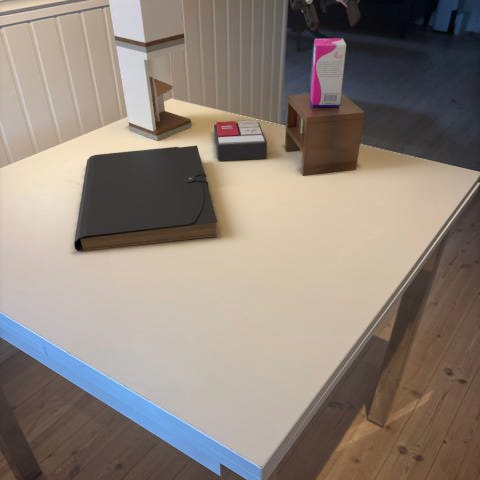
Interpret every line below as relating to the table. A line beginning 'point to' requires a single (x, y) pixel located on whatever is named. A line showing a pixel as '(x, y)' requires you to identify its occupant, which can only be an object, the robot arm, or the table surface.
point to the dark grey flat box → (240, 140)
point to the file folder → (144, 199)
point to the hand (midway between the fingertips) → (335, 25)
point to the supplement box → (327, 72)
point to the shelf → (324, 134)
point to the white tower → (148, 62)
